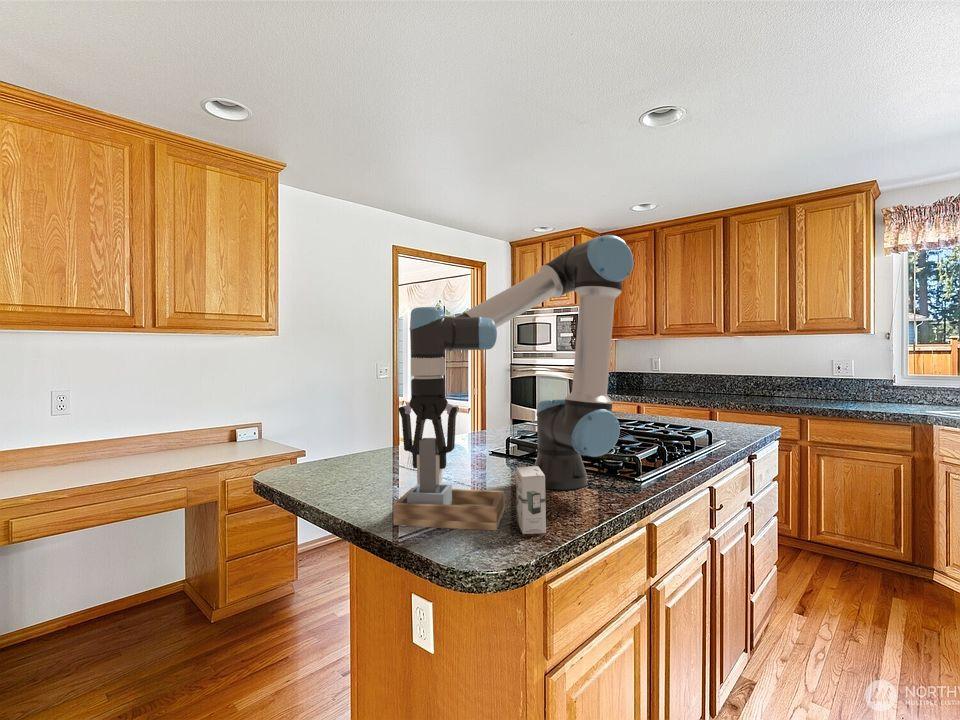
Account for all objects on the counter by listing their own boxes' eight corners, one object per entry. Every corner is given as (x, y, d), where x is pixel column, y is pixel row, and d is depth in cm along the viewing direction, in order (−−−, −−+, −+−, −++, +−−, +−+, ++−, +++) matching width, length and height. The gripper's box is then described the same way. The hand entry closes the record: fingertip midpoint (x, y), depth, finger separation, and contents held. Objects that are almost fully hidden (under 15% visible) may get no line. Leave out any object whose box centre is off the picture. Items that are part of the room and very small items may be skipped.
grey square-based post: (451, 503, 115) (450, 436, 115) (443, 514, 107) (442, 442, 107) (418, 502, 116) (417, 436, 116) (407, 513, 108) (406, 442, 108)
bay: (504, 510, 115) (504, 490, 115) (496, 530, 102) (496, 508, 102) (412, 506, 119) (412, 487, 119) (393, 525, 106) (393, 504, 106)
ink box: (515, 520, 108) (514, 465, 108) (538, 519, 109) (537, 465, 109) (522, 534, 100) (521, 475, 100) (546, 533, 100) (546, 474, 100)
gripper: (468, 376, 113) (469, 479, 114) (397, 376, 116) (399, 477, 117) (461, 378, 106) (462, 488, 106) (386, 378, 109) (388, 486, 109)
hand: (429, 482), depth 111 cm, fingers closed on grey square-based post, 3 cm apart
